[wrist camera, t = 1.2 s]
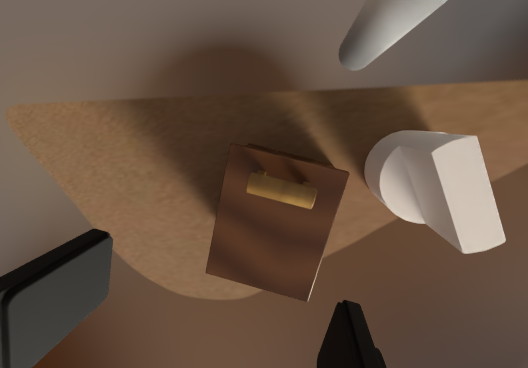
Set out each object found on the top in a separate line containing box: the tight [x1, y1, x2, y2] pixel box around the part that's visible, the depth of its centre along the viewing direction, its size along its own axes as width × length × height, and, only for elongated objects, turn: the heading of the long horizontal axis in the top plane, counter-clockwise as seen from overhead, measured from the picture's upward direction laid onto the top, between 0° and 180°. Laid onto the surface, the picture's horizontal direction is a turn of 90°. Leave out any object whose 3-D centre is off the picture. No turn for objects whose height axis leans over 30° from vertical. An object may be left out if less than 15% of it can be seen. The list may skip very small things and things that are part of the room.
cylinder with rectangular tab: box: [364, 130, 506, 254], centre depth 24 cm, size 9×9×12 cm
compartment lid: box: [206, 143, 350, 302], centre depth 22 cm, size 13×11×5 cm
